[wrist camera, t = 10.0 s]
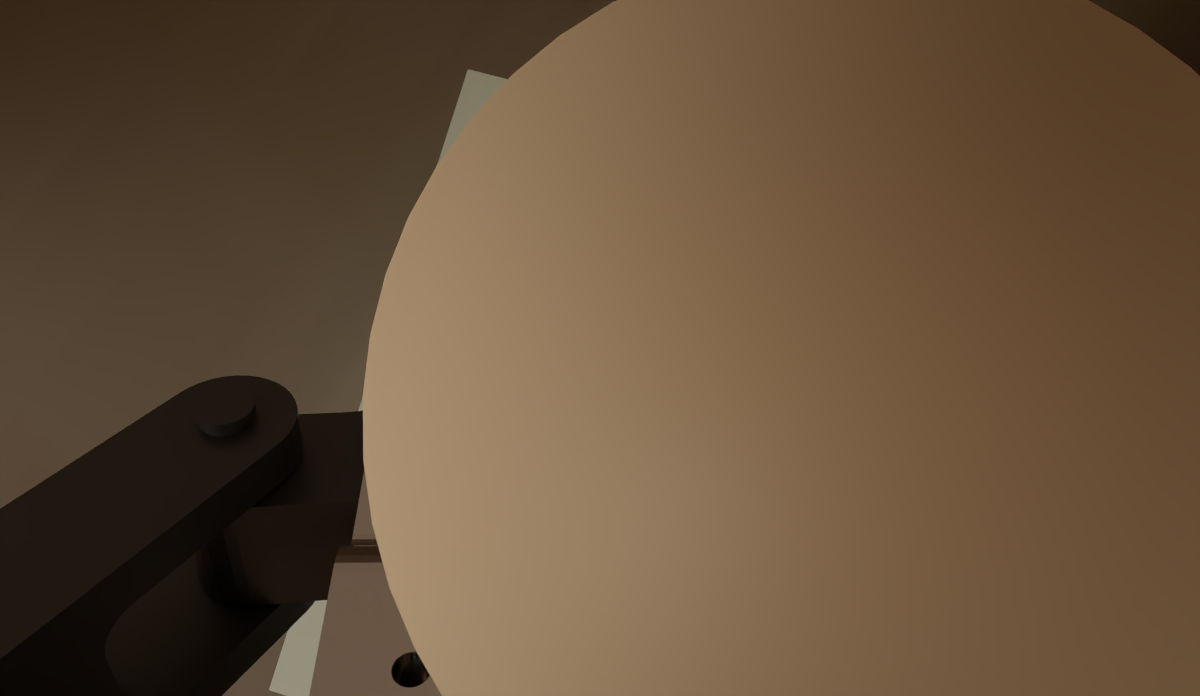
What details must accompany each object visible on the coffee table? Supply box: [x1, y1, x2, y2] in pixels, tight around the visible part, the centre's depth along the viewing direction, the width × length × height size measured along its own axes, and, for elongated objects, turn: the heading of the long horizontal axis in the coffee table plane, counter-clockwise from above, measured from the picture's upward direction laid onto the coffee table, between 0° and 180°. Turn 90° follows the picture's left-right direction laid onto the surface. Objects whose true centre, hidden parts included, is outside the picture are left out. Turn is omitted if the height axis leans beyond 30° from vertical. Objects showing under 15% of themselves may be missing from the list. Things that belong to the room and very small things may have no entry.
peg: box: [363, 0, 1200, 696], centre depth 11 cm, size 4×4×16 cm
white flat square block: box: [269, 69, 508, 696], centre depth 20 cm, size 14×14×4 cm
